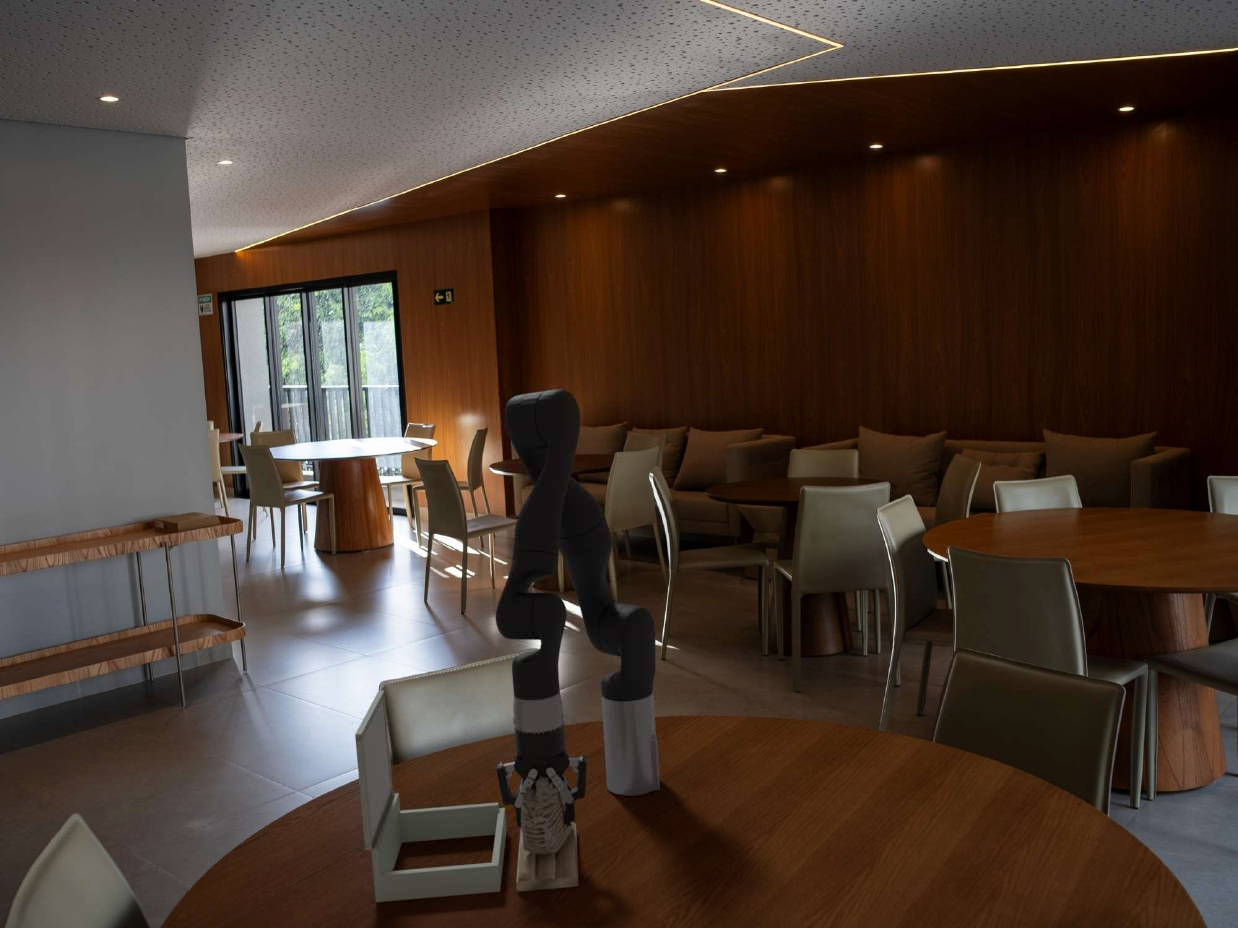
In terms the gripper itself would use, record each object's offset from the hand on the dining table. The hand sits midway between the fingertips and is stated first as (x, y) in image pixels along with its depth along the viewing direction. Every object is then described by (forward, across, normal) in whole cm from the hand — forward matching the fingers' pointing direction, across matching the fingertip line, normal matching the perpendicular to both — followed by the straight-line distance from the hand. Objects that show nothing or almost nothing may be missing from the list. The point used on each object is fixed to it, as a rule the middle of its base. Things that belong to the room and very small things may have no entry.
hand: (546, 825), depth 155 cm
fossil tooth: (+3, 0, 0) cm, 3 cm away
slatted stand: (+6, 0, 0) cm, 6 cm away
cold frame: (+6, +16, -1) cm, 17 cm away
